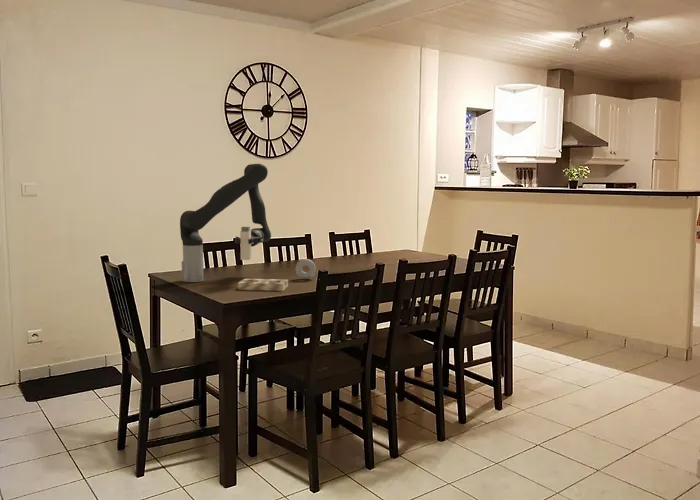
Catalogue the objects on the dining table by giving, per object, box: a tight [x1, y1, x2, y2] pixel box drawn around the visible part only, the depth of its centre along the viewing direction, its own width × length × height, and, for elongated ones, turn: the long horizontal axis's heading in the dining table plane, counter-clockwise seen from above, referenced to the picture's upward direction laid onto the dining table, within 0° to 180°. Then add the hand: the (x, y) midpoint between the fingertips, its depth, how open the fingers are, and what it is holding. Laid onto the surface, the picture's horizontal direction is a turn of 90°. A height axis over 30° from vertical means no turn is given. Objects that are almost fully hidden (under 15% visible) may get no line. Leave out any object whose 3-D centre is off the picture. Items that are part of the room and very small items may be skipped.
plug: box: [239, 226, 252, 261], centre depth 291 cm, size 4×4×15 cm
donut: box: [295, 258, 317, 280], centre depth 306 cm, size 10×3×10 cm, turn 86°
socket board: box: [237, 278, 289, 292], centre depth 281 cm, size 20×12×3 cm, turn 85°
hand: (244, 241), depth 288 cm, fingers closed on plug, 4 cm apart
